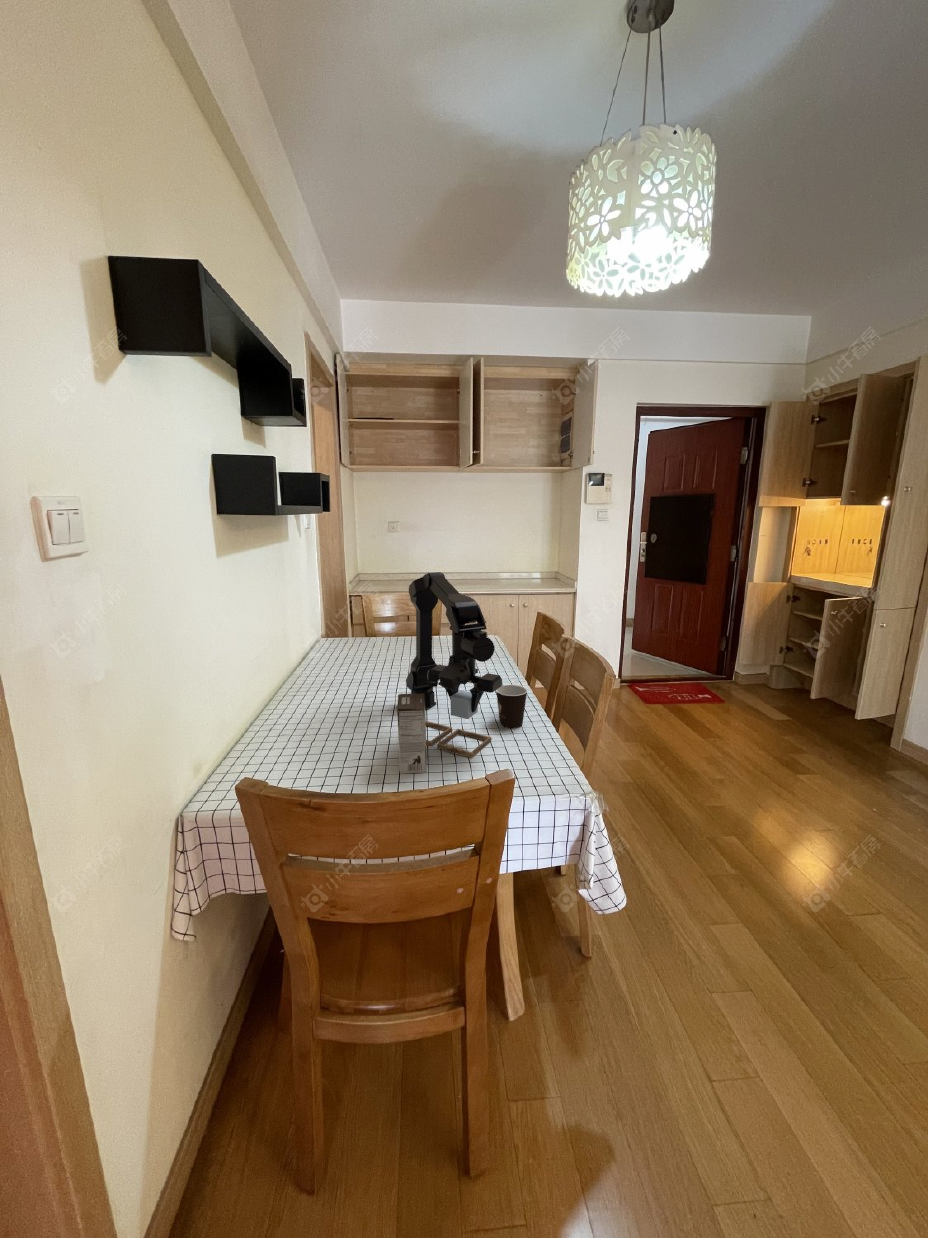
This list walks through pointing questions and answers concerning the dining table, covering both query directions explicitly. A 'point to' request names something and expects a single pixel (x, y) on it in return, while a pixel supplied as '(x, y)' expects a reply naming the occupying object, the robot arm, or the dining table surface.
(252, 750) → the dining table surface
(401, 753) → the coffee box
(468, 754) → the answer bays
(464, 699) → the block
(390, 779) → the dining table surface
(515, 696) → the coffee mug
